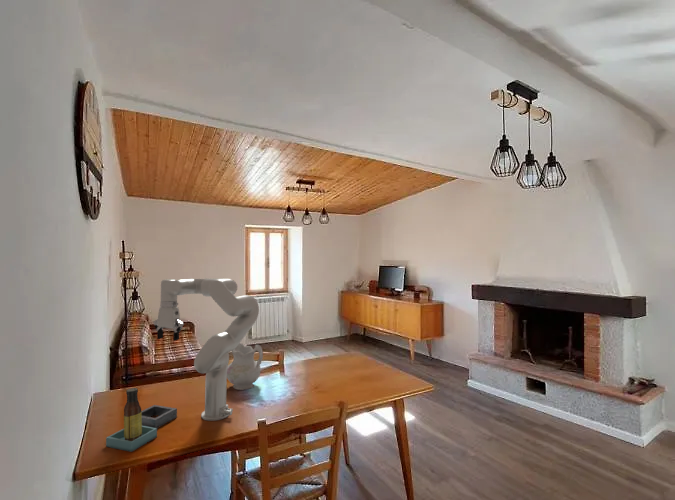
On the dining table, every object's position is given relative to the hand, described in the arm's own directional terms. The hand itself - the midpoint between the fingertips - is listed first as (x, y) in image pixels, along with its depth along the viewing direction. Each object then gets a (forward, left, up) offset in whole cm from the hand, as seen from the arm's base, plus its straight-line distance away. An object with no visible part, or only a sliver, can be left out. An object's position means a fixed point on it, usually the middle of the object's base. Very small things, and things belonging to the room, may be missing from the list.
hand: (168, 339), depth 185 cm
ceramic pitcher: (-20, -39, -34) cm, 55 cm away
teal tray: (-12, +32, -33) cm, 48 cm away
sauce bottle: (-12, +32, -33) cm, 47 cm away
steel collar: (-6, +14, -33) cm, 37 cm away
